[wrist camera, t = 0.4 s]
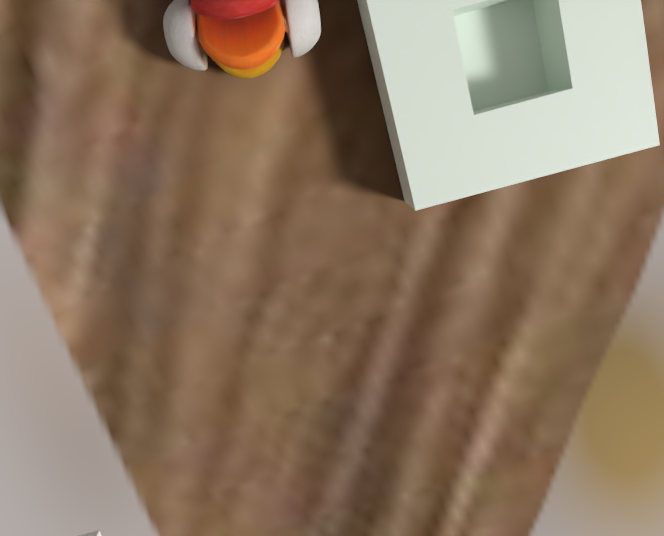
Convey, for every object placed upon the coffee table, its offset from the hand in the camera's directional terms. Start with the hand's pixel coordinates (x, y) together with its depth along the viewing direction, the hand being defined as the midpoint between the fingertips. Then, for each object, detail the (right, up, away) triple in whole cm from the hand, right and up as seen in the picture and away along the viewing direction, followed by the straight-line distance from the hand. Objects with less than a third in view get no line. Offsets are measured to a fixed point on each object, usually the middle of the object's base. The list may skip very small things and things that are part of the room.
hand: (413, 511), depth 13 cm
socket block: (+8, +18, +23) cm, 30 cm away
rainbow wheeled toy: (-7, +21, +22) cm, 32 cm away
